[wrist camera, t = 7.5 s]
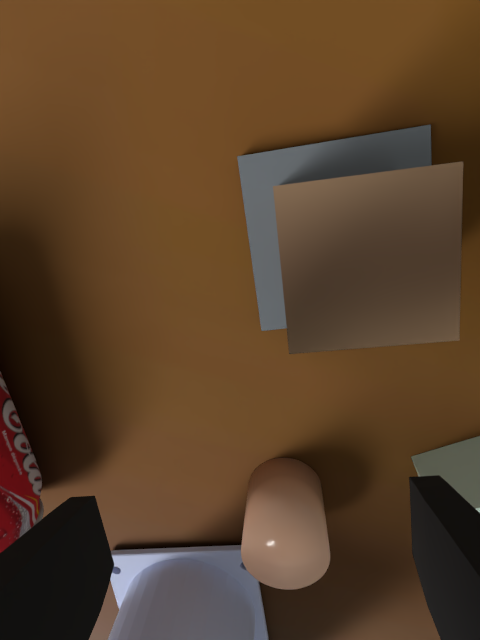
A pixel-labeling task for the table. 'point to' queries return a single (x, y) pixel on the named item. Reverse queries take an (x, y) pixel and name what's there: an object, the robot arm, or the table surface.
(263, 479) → the pinkish brown rounded cylinder
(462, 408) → the table surface
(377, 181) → the walnut block
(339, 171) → the slate coaster
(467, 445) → the pale green cube
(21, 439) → the soda can
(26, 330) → the table surface
